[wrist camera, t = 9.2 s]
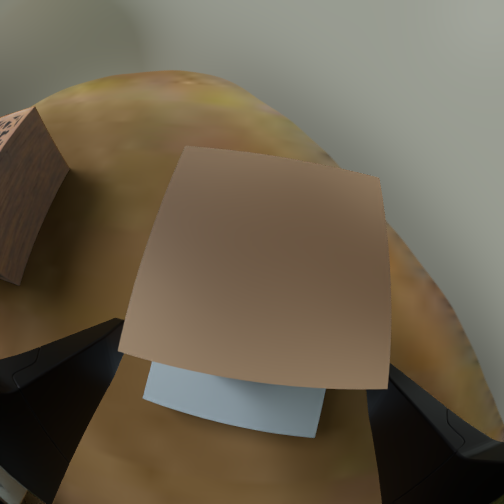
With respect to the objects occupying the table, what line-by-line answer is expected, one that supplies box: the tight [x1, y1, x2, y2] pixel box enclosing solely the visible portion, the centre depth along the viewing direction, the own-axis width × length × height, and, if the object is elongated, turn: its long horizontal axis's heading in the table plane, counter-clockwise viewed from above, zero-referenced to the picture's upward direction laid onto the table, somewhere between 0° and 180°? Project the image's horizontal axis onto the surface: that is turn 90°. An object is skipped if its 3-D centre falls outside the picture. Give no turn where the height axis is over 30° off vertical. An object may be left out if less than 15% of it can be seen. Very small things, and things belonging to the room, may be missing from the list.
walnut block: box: [118, 146, 391, 389], centre depth 11 cm, size 4×4×13 cm
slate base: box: [143, 361, 326, 438], centre depth 18 cm, size 11×11×2 cm
